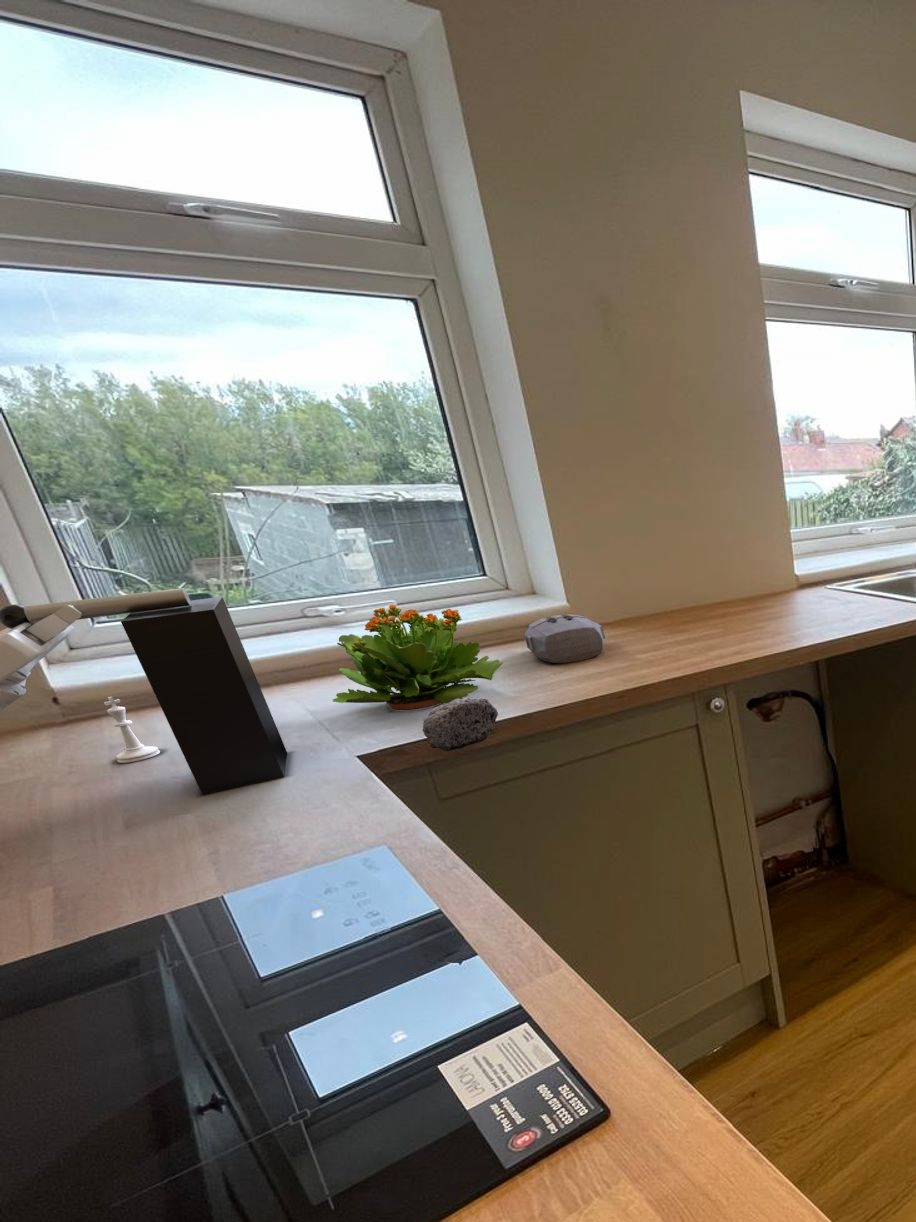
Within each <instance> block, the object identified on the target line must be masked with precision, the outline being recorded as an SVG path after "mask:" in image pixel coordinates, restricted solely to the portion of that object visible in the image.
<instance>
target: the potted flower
mask: <svg viewBox="0 0 916 1222" xmlns="http://www.w3.org/2000/svg"><path fill="white" fill-rule="evenodd" d="M373 612H374V613H373V616H372V618H370V619H369V621H367V622H366V623H365V625H364V627H365V628H364V631H368V632H369V633H375V632H376V633H377V634H373V635H369V634H364V635H362V636H361V637H360V636H358V635H355V634H353V633H350V634H348V635H346V634H342V635H340V636H339V637H338V642H336V644H337V645H338V646H341V647H343V648H345V652H346V653H347V654H348V655H350V656H351V660H352V662H353V664H354V665H355V666H356V669H357V670H352V669H351V668H343V667H342V668H338V671H339V672H340V673H341V674H342V675H344V676H346V678H347V679H349V680H350V681H352V682H355V683H356V684H358V685H360V686H364V687H366V688H370V689H372V690H369V691H366V690H361V689H356V690H354V689H351V688H347V692H345V691H343V692H338V693H336V694H335V696H336V697H335V698H332V702H334V703H340V704H343V703H347V704H348V703H349V704H350V703H355V704H363V703H366V704H367V703H369V704H372V703H373V704H374V703H375V704H377V703H379V704H380V703H386V705H387V706H388V708H390V710H391V711H398V712H403V711H405V712H407V711H416V710H422V709H428V708H432V707H435V706H436V707H437V706H439V705H443V704H444V703H448V702H451V701H453V700H455V699H464V698H465V697H467V696H469V694H472V693H474V692H476V691H478V689H479V685H478V684H477V685H476V684H475V685H474V683H471V684H470V683H469V682H475V681H476V679H483V680H487V681H488V680H489V681H492V680H493V676H494V675H495V673H496V672H497V670H498V669H499V668H500V667H501V666H502V665H503V664H504V661H501V660H500V659H494V660H492V659H491V660H489V659H490V657H489V656H488V655H484V656H483V657H481V658H480V659H479V658H478V657H477V656H478V655H479V653H480V652H481V649H480V648H481V644H480V642H472V641H469V642H468V643H467V644H465V643H464V642H460V639H458V640H457V642H456V641H455V637H454V636H455V635H454V634H455V632H457V630H458V628H457V627H458V622H459V621H460V622H461V621H462V620H463V618H462V616H461V614H460V612H459V609H452V608H446V609H445V610H442V611H441V615H442V617H443V618H438V616H437V615H436V614H433V613H432V612H431V613H428V614H426V616H424V615H423V614H420V613H419V611H417V609H408V610H405V611H403V612H402V608H399V607H397V604H389V605H388V609H387V610H386V608H385V607H380V608H375V609H374V610H373ZM405 624H408V628H409V630H408V631H407V628H406V626H405ZM408 632H409V633H408ZM393 688H394V689H395V690H393ZM373 690H374V691H373Z"/></svg>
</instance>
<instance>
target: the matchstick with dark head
mask: <svg viewBox="0 0 916 1222" xmlns="http://www.w3.org/2000/svg"><path fill="white" fill-rule="evenodd" d="M75 600H76V601H74V600H68V601H59V602H50V603H42V604H41V603H40V604H34V605H33V604H32V605H23V604H17V603H16V604H7V605H4V606H3V607H1V608H0V624H1V625H2V626H3V627H5V628H10V629H13V628H15V627H16V626H18V625H20V624H22V623H31V624H32V625H34V624H35V623H37V622H39V621H40V620H42V619H44V618H46V617H48V616H50V615H52V614H54V613H55V612H57V611H58V610H60V609H61V608H63V607H65V606H66V605H74V606H75V607H77V608H78V609H80V610H81V611H83V616H81V617H80V618H79V619H77V620H76V621H78V620H87V619H95V618H103V617H110V616H111V617H112V616H118V615H128V614H130V613H135V612H143V611H151V610H159V609H167V608H175V607H183V606H190V605H191V598H190V595H189V594H188V592H187V590H186V589H185V587H181V588H171V589H164V590H155V591H146V592H137V593H129V594H119V595H112V596H102V597H95V598H94V597H93V598H85V599H84V598H83V599H75ZM32 625H31V626H32ZM31 626H29V627H31ZM29 627H28V628H29Z"/></svg>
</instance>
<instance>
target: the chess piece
mask: <svg viewBox="0 0 916 1222" xmlns="http://www.w3.org/2000/svg"><path fill="white" fill-rule="evenodd" d="M107 699H108V701H104V702H103V704H104V706H110V705H111V707H110V708H108V709H107V710H106V713H107V714H108V715H109V716H110V717H112V718H113V720H115V721H116V722H115V723H113V727H114V728H120V731H121V734H122V738H123V741H124V743H125V744H124V745H125V748H124V749H123V750H124V751H122V752H120V753H118V754H117V755H116V757H115V759H116V762H117V763H120V764H122V763H123V764H124V763H125V764H126V763H133V762H138V761H143V760H147V759H150V758H153V757H155V756H157V755H159V754H160V753H161V750H160V749H159V747H157V746H151V745H150V746H149V745H148V746H145V744H143V743H141V742H140V739H138V737H137V736H136V735H135V734H134V732H133V730H132V728H131V727H130V726H129V725H132V724H133V721H132V720H129V719H128V720H127V719H126V717H127V716H126V711H127V710H126V707H125V706H117V704H119V703H121V699H119V698H117V699H114V697H113V696H108V697H107Z"/></svg>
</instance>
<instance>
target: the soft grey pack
mask: <svg viewBox="0 0 916 1222" xmlns="http://www.w3.org/2000/svg"><path fill="white" fill-rule="evenodd" d="M524 638H525V643H526V648H527V649H528V650H529V651H530V652H531V654H533V655H534V656H536V657H537V658H538V659H540V660H542V661H543V662H548V663H555V664H556V663H557V664H558V663H559V664H561V663H562V664H564V663H565V664H566V663H571V662H580V661H582V660H583V661H584V660H586V659H590V658H594V657H595V656H597V655H598V656H599V654H602V652H603V651H602V650H603V649H604V645H605V639H606V636H605V633H604V628H603V626H602V625H600V624H599V623H597V622H594V621H593V620H591V619H590V618H589V617H587V616H583V615H578V614H572V613H571V614H569V613H568V614H567V613H566V614H556V615H551V616H550V615H549V616H548V617H547V616H546V617H543V618H540V619H538V620H536V621H534V622H531V623H530V624H528V626H527V628H526V631H525V632H524Z"/></svg>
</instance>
